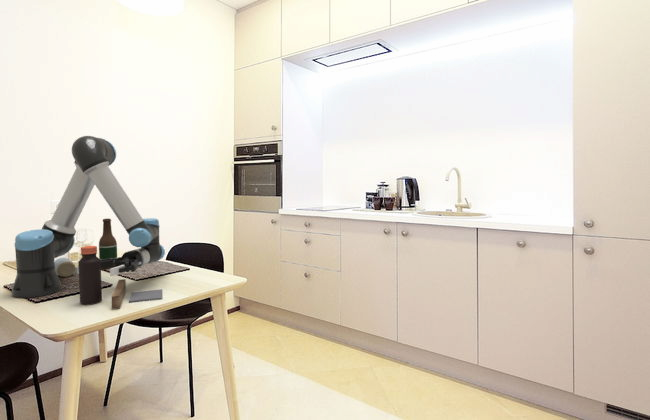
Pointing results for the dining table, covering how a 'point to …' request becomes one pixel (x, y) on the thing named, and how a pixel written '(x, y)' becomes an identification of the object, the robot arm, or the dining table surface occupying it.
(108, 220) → the beer bottle
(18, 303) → the dining table surface
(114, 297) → the door rail
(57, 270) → the ceramic mug
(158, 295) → the pad
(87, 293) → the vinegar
